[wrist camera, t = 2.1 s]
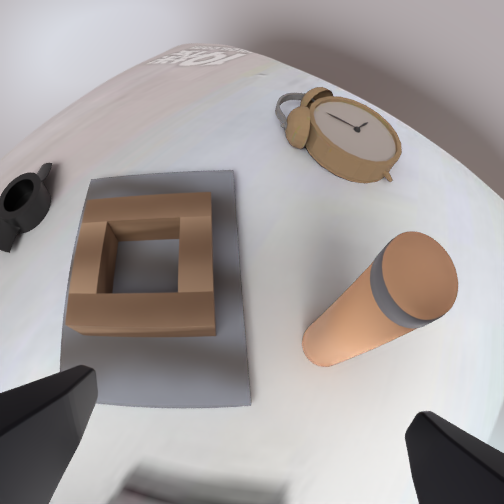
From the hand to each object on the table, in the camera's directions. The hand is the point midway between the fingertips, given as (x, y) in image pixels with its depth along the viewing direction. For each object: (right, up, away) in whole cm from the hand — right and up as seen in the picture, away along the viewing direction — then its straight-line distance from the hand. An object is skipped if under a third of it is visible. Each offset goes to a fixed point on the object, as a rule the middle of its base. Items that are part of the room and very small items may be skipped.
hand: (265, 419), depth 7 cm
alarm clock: (+9, +17, +26) cm, 32 cm away
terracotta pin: (+5, -3, +15) cm, 16 cm away
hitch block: (-8, +2, +16) cm, 18 cm away
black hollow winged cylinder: (-24, +8, +19) cm, 31 cm away
